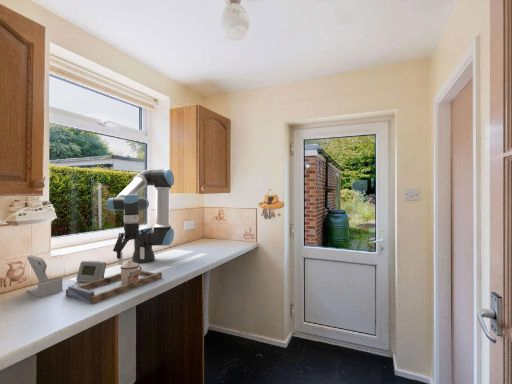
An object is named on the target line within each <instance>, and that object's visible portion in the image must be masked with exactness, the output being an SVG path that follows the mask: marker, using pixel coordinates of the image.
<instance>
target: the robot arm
mask: <svg viewBox="0 0 512 384" xmlns="http://www.w3.org/2000/svg"><path fill="white" fill-rule="evenodd" d="M174 184H175V176H174V173H173V171H172V170H171V169H170V168H169V169H167V168H153V169H151V168H149V169H145V170H142V171H141V172H139V173H137V174H136V175H135V176H133V179H132V181H131V182H130V183H129V184H128V185H127V186H126V187H125V188H123V190H121V192H119V194H118V195H116V197H110V198H108V199H107V201H106V203H105V204H106V208H107V210H108V211H110V212H114V211H115V212H121V211H123V230H124V232H119V233H118V237H117V240H116V242H115V245H114V247H113V249H112V252H115V253H116V258H117V265H119V266H122V265H123V263H124V259H123V258H124V256H123V255H124V254H123V253H124V252H123V250H124V248H125V246H126V245H127V243H128V242H129V241H132V240H133V243H134V245H133V247H134V248H133V249H134V250H133V252H132V253H133V254H132V257H131V260H132V262H134V263H138V264H144V263H145V264H146V263H151V262H154V261H155V260H156V255H155V254H154V250H153V246H155V247H157V246H162V247H164V246H170V245H171V244H172V243H173V240H174V237H175V231H174V229H173V228H172V225H170V219H169V218H170V190H171V189H172V186H173V185H174ZM149 186H153V189H155V195H156V196H155V207H156V208H155V225H154V226H153V227H152V226H146V227H140V223H139V222H140V212H141V211H145V210H147V209H148V208H149V207H150V201H149V200H148V199H147V198H145V197H140V196H139V194H138V193H139V192H140V191H141V190H142V189H144V188H146V187H149Z"/></svg>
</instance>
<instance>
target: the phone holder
mask: <svg viewBox="0 0 512 384" xmlns="http://www.w3.org/2000/svg"><path fill="white" fill-rule="evenodd" d="M26 259H27V260H28V263H29V264H30V267H31V269H32V270H33V272H34V274H35V276H36V279H37V280H38V283H37V286H34V287H30V288H27V290H26V291H27V292H28V291H29V292H28V293H30V292H31V294H32V293H33V294H32V295H34V294H35V295H34V296H37V298H45V297H48V296H51V295H54V294H57V293H59V294H60V293H61V292H64V288H63V277H61V276H59V277H54V278H48V275H47V273H46V271H47V267H48V266H47V263H46V261H45V260H44V259H43V258H42V257H38V256H37V255H32V254H30V255H28V256H27V257H26Z"/></svg>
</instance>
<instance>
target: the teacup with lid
mask: <svg viewBox="0 0 512 384" xmlns="http://www.w3.org/2000/svg"><path fill="white" fill-rule="evenodd" d="M141 271H143V270H142V266H140V263H134V262H132V259H129V260H128V261H127V262H126V263H124V264H123V265H120V273H121V279H120V283H121V284H122V285H124V284H127V283H128V282H133V281H135V280H138V279H140V277H139V276H140V275H139V274H140V273H141Z"/></svg>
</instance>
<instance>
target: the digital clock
mask: <svg viewBox="0 0 512 384" xmlns="http://www.w3.org/2000/svg"><path fill="white" fill-rule="evenodd" d="M106 269H107V262H105V261H99V260H98V261H97V260H82V261H81V262H80V265H79V268H78V272H77V275H76V279H75V280H76V282H78V283H79V282H81V283H89V282H92V281H95V280H99V279H102V278H105V273H106Z"/></svg>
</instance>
